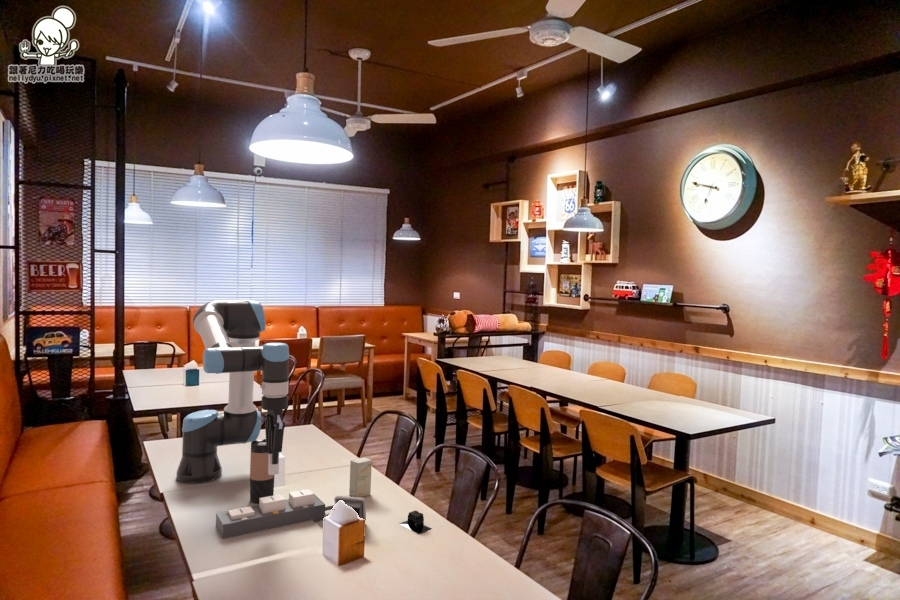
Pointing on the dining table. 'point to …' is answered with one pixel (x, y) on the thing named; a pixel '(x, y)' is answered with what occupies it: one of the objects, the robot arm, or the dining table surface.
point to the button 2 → (271, 503)
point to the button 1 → (240, 513)
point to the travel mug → (260, 472)
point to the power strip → (270, 518)
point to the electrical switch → (354, 504)
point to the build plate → (415, 522)
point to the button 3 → (301, 498)
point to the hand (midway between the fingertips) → (273, 473)
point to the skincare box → (360, 477)
